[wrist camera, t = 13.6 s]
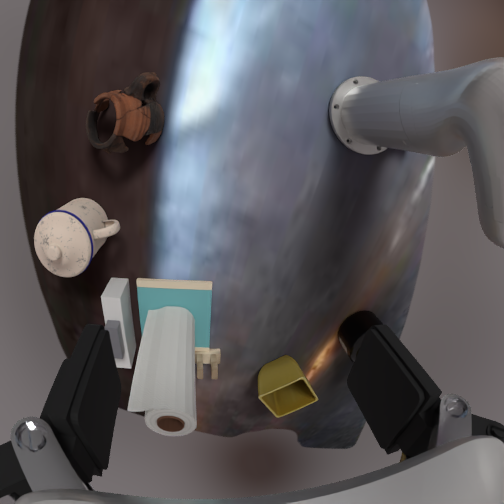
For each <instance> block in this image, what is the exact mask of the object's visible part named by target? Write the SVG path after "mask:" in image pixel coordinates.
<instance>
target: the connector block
mask: <svg viewBox="0 0 504 504" xmlns="http://www.w3.org/2000/svg"><path fill="white" fill-rule="evenodd" d="M101 300H102V306H103V313H104V318H105V324H106V325H105V330H108V331H109V334H110V339H111V344H112V349H113V353H114V358H115V362H116V367H119V368H130V369H131V368H132V363H133V359H134V354H135V350H136V341H135V333H134V326H133V318H132V309H131V300H130V290H129V279H124V278H111V279H110V281H109V283H108V285H107V286H106V288H105V290H104V292H103V294H102V296H101Z"/></svg>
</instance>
